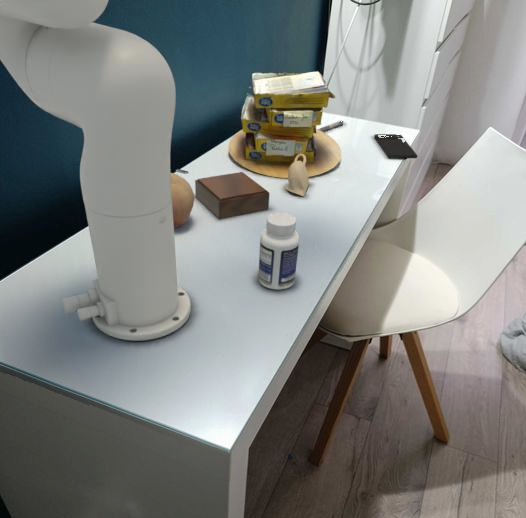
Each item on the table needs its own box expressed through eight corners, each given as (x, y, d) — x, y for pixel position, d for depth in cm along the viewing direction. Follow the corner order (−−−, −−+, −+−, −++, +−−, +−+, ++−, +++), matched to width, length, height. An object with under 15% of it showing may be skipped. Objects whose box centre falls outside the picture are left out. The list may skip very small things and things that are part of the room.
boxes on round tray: (335, 184, 102) (350, 95, 91) (217, 169, 104) (217, 80, 93) (341, 145, 120) (354, 67, 110) (241, 133, 123) (243, 55, 112)
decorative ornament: (282, 194, 97) (284, 166, 93) (292, 178, 103) (295, 152, 99) (303, 197, 96) (306, 170, 93) (311, 181, 102) (315, 155, 99)
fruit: (138, 227, 83) (133, 180, 78) (162, 208, 89) (158, 163, 84) (182, 237, 81) (179, 190, 76) (202, 217, 87) (202, 172, 82)
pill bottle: (295, 272, 75) (302, 211, 69) (293, 292, 71) (301, 229, 65) (259, 269, 75) (263, 208, 69) (256, 288, 71) (259, 226, 65)
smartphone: (417, 158, 116) (400, 137, 127) (418, 154, 115) (400, 132, 126) (388, 158, 115) (373, 137, 127) (389, 154, 115) (374, 132, 126)
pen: (345, 118, 133) (340, 120, 134) (317, 129, 124) (312, 131, 125) (346, 122, 133) (341, 124, 134) (318, 133, 124) (313, 135, 125)
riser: (219, 219, 87) (219, 200, 85) (195, 196, 94) (194, 178, 91) (268, 209, 91) (269, 190, 89) (242, 188, 98) (243, 170, 95)
